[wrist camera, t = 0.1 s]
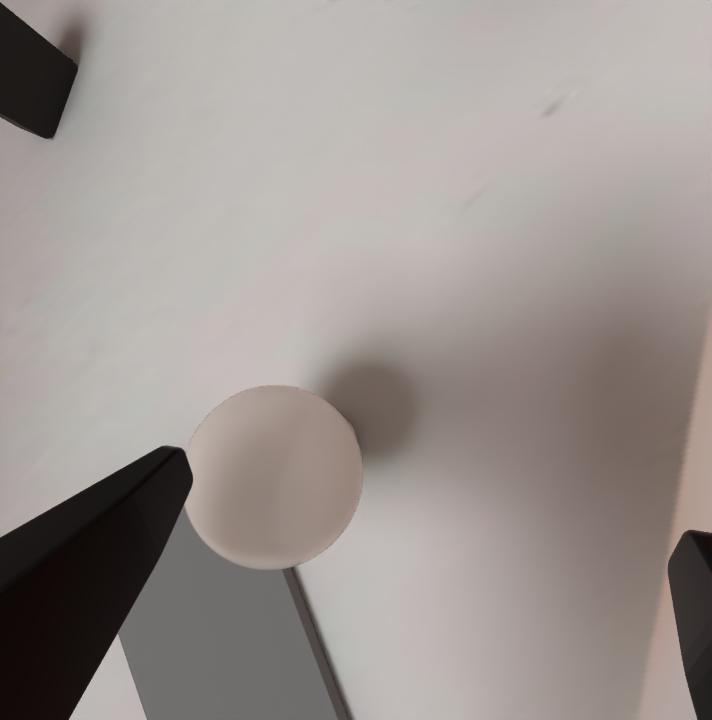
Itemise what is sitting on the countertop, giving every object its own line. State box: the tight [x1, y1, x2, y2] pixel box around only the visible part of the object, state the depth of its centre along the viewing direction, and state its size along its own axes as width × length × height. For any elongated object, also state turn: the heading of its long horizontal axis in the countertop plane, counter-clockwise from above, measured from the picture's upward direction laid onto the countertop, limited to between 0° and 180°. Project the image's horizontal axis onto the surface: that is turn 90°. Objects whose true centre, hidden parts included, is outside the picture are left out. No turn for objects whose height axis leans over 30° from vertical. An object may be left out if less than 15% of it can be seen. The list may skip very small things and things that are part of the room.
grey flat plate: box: [118, 506, 349, 720], centre depth 25 cm, size 18×11×1 cm, turn 23°
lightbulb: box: [184, 385, 363, 570], centre depth 19 cm, size 6×6×11 cm
